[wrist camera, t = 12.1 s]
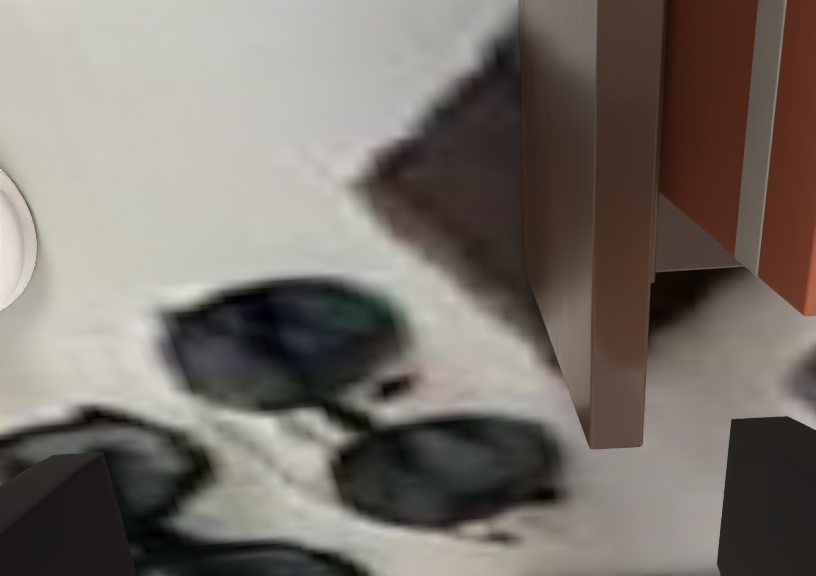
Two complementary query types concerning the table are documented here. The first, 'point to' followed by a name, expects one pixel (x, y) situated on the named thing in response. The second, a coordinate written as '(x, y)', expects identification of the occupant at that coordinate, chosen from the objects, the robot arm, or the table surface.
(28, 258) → the chess piece
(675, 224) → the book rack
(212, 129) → the table surface
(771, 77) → the terracotta book
